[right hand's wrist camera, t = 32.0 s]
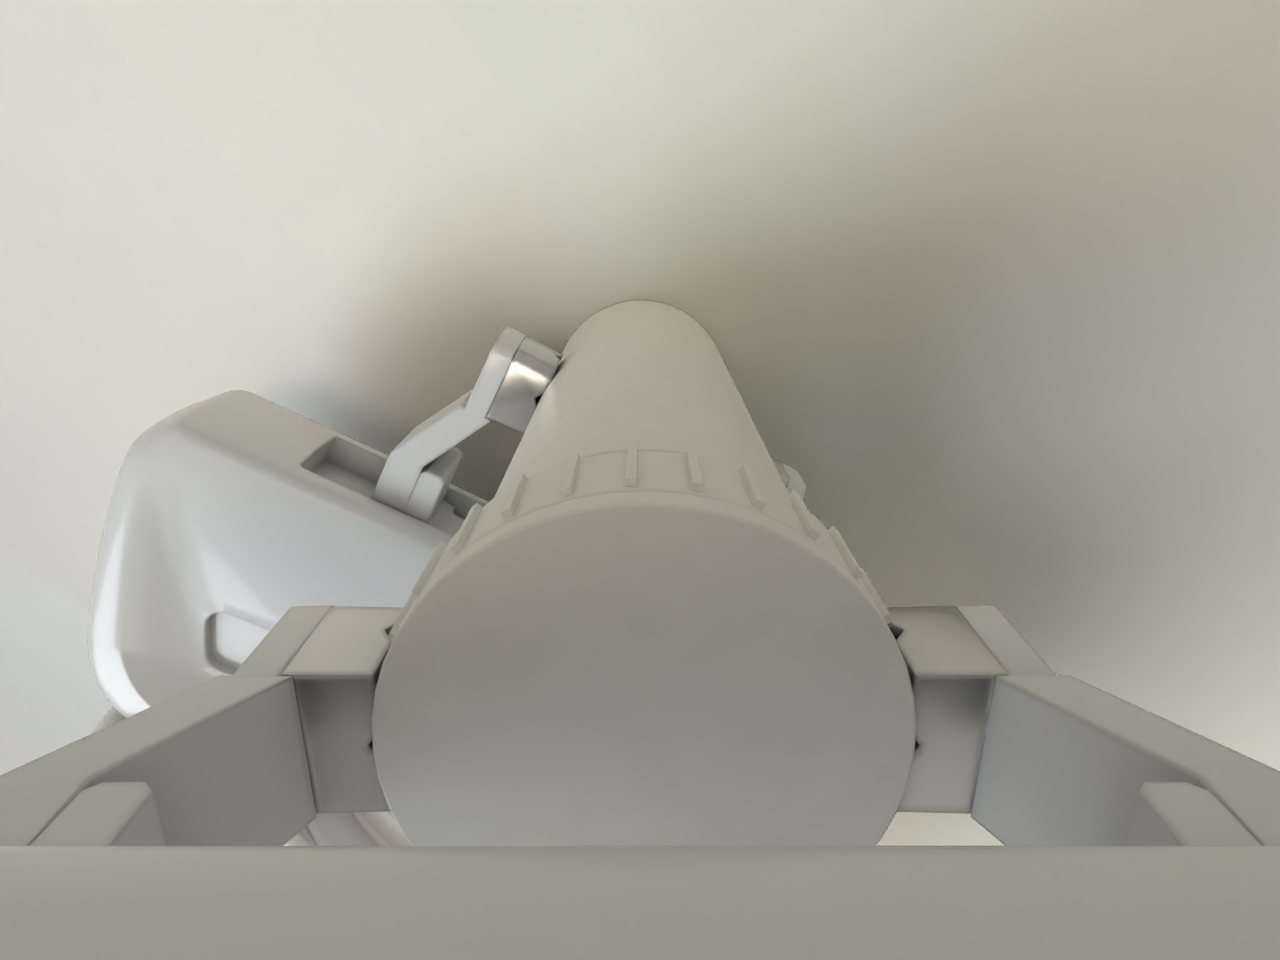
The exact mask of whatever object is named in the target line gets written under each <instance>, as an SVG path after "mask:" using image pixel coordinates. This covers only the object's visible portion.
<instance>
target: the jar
mask: <svg viewBox="0 0 1280 960" xmlns="http://www.w3.org/2000/svg"><path fill="white" fill-rule="evenodd" d="M562 354H563V356H562V358H561V360H560V363H559V365H558V367H557V369H556V371H555V373H554V375H553V378H552V380H551V382H550V384H549V386H548V387H547V389H546V390H545V391H544V393H543V394H542V397H541V399H540V401H539V403H538V405H537V407H536V409H535V412H534V414H533V416H532V418H531V420H530V422H529V424H528V426H527V429H526V431H525V433H524V435H523V437H522V439H521V441H520V443H519V446H518V448H517V450H516V452H515V454H514V456H513V458H512V460H511V463H510V465H509V467H508V469H507V471H506V473H505V475H504V478H503V480H502V482H501V484H500V486H499V488H498V490H497V492H496V495H495V497H496V496H498V495H500V494H501V493H503V492H504V491H506V490H507V489H509V488H511V487H512V485H513V483H514V480H515V478H516V476H518V475H520V474H522V473H525V475H526V476H527V478H529V477H531V476H533V475H536V474H538V473H540V472H542V471H544V470H546V469H549V468H552V467H555V466H558V465H561V464H564V463H567V462H568V458H569V455H571V454H575V453H579V456H580V458H586V457H592V456H597V455H603V454H609V453H616V452H627V446H628V445H637V451H654V452H668V453H681V454H686V449H687V448H689V449H695V450H696V453H697V457H700V458H705V459H710V460H714V461H717V462H720V463H723V464H726V465H729V466H732V467H735V468H738V469H741V467H742V465H743V464H746V465H748V466H751V467H752V470H753V472H754V475H755V476H756V477H758V478H760V479H762V480H764V481H766V482H768V483H770V484H772V485H774V486H776V487H777V488H779V489H780V490H782V491H783V492H784V493H786V494H787V495H789V493H788V491H787V489H786V487H785V485H784V483H783V481H782V479H781V477H780V475H779V473H778V471H777V468H776V466H775V464H774V462H773V460H772V458H771V456H770V454H769V452H768V450H767V448H766V446H765V444H764V442H763V440H762V438H761V436H760V434H759V432H758V430H757V428H756V426H755V424H754V422H753V420H752V418H751V416H750V414H749V412H748V410H747V408H746V406H745V404H744V402H743V400H742V398H741V395H740V393H739V391H738V389H737V387H736V385H735V383H734V381H733V379H732V377H731V375H730V373H729V371H728V369H727V367H726V365H725V363H724V361H723V359H722V357H721V355H720V353H719V351H718V349H717V347H716V345H715V343H714V342H713V340H712V338H711V337H710V335H709V334H708V333H707V332H706V330H705V329H704V328H703V327H702V326H701V325H700V324H699V323H698V322H697V321H696V320H695V319H693V318H692V317H691V316H689V315H688V314H686V313H685V312H683V311H681V310H679V309H677V308H675V307H672V306H670V305H667V304H664V303H659V302H655V301H645V300H638V301H627V302H622V303H618V304H615V305H612V306H609V307H607V308H604V309H602V310H600V311H598V312H597V313H595V314H594V315H592V316H591V317H589V318H588V319H587V320H586V321H585V322H583V323H582V324H581V325H580V326H579V327H578V328H577V330H576V331H575V332H574V333H573V334H572V336H571V337H570V339H569V340H568V342H567V344H566V346H565V348H564V350H563V352H562ZM495 497H494V498H495Z"/></svg>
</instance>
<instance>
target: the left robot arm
mask: <svg viewBox="0 0 1280 960" xmlns="http://www.w3.org/2000/svg"><path fill="white" fill-rule="evenodd" d="M562 356H563V354H561V353H559V352H557V351H556V350H554V349H552V348H550V347H548V346H546V345H544V344H542V343H540V342H538V341H536V340H534V339H532V338H531V337H529V336H526V334H524V333H521V332H519V331H517V330H515V329H513V328H510V327H508V326H507V327H506V328H505V329H504V330H503V331H502V332H501V333H500V335H499V337H498V339H497V340H496V342H495V344H494V346H493V348H492V349H491V351H490V353H489V355H488V358H487V360H486V362H485V364H484V367H483V369H482V371H481V373H480V375H479V378H478V380H477V382H476V384H475V387H474V388H473V389H471V390H470V391H468V392H467V393H465V394H464V395H462V396H461V397H459V398H458V399H456V400H455V401H453V402H452V403H450V404H449V405H447V406H446V407H444V408H443V409H441V410H440V411H438V412H437V413H435V414H434V415H432V416H431V417H429V418H428V419H426V420H425V421H423V422H422V423H420V424H419V425H417V426H416V427H414V428H413V429H412V431H411V432H410V433H409V434H408V435H407V436H406V437H405V438H404V439H403V440H402V441H401V442H400V443H399V444H398V445H397V446H396V447H395V448H394V449H393V450H392V452H391V453H390V455H389V456H388V455H386V454H384V453H382V452H380V451H378V450H375V449H373V448H371V447H369V446H367V445H365V444H362V443H360V442H358V441H356V440H354V439H351V438H349V437H347V436H345V435H343V434H341V433H338V432H336V431H334V430H332V429H330V428H328V427H325V426H323V425H321V424H319V423H317V422H314V421H312V420H310V419H308V418H306V417H304V416H301V415H299V414H297V413H295V412H293V411H291V410H288V409H286V408H284V407H282V406H280V405H278V404H275V403H273V402H271V401H269V400H267V399H265V398H263V397H260V396H258V395H256V394H253V393H251V392H247V391H243V390H233V391H229V392H226V393H223V394H220V395H217V396H214V397H212V398H209V399H206V400H203V401H200V402H198V403H195V404H193V405H191V406H188V407H186V408H183V409H181V410H179V411H177V412H175V413H174V414H172V415H170V416H168V417H166V418H165V419H163V420H161V421H159V422H157V423H156V424H154V425H153V426H152V427H150V428H149V429H147V430H146V431H145V432H144V433H143V434H142V435H141V436H140V437H139V438H138V439H137V440H136V441H135V442H134V443H133V445H132V446H131V447H130V449H129V451H128V452H127V454H126V456H125V459H124V461H123V464H122V466H121V469H120V472H119V475H118V478H117V480H116V484H115V487H114V491H113V494H112V498H111V501H110V505H109V509H108V513H107V517H106V521H105V525H104V530H103V534H102V539H101V544H100V548H99V553H98V559H97V565H96V570H95V576H94V582H93V589H92V596H91V603H90V610H89V619H88V638H87V641H88V654H89V660H90V665H91V669H92V672H93V675H94V677H95V680H96V682H97V684H98V686H99V688H100V690H101V691H102V693H103V694H104V696H105V697H106V699H107V700H108V701H109V703H110V704H111V705H112V707H111V708H110V710H109V711H108V712H107V713H106V714H105V716H104V717H103V718H102V720H101V721H100V722H99V724H98V725H97V726H96V728H95V729H94V730H93V732H92V733H91V734H93V733H95V732H97V731H99V730H102V729H104V728H106V727H108V726H110V725H112V724H115V723H117V722H119V721H121V720H123V719H126V718H128V717H130V716H132V715H134V714H136V713H139V712H141V711H143V710H145V709H147V708H150V707H152V706H154V705H156V704H158V703H160V702H163V701H165V700H167V699H169V698H171V697H174V696H176V695H178V694H180V693H182V692H184V691H187V690H189V689H191V688H193V687H195V686H198V685H200V684H202V683H204V682H206V681H208V680H211V679H213V678H215V677H217V676H232V675H233V674H234V673H235V672H236V670H237V669H238V668H239V667H240V666H241V665H242V663H243V662H244V661H245V660H246V659H247V658H248V656H249V655H250V654H251V653H252V652H253V650H254V649H255V648H256V647H257V646H258V645H259V643H260V642H261V641H262V640H263V639H264V638H265V636H266V635H267V634H268V633H269V632H270V630H271V629H272V628H273V627H274V626H275V625H276V623H277V622H278V621H279V620H280V619H281V618H282V616H283V615H284V614H285V613H286V612H287V611H288V609H289V608H290V607H297V606H323V605H333V606H335V607H337V606H358V607H404V606H405V605H406V603H407V601H408V599H409V597H410V596H411V594H412V592H411V591H412V589H413V588H414V586H415V584H416V582H417V581H418V579H419V577H420V575H421V573H422V572H423V570H424V568H425V566H426V565H427V563H428V561H429V559H430V558H431V556H432V554H433V552H434V551H435V549H436V547H437V546H438V544H439V543H440V542H441V541H442V542H443V543H445V544H448V543H449V541H450V540H451V539H452V538H453V536H454V535H455V534H456V533H457V532H458V531H459V530H460V528H461V526H462V524H463V522H464V520H465V518H466V517H467V515H468V513H469V511H470V509H471V508H472V507H473V506H474V505H475V504H476V503H478V504H479V505H480V506H481V507H482V508H483V507H484V506H485V505H486V504H487V503H488V502H489V501H486V500H484V499H482V498H480V497H478V496H476V495H473V494H471V493H469V492H467V491H465V490H462V489H460V488H458V487H456V486H454V485H452V484H451V482H452V480H453V477H454V475H455V473H456V470H457V468H458V466H459V464H460V461H461V459H462V457H463V454H462V451H461V450H460V449H458V448H456V447H454V446H455V445H457V444H458V443H460V442H461V441H463V440H464V439H466V438H467V437H469V436H470V435H471V434H473V433H474V432H476V431H477V430H479V429H480V428H482V427H483V426H485V425H486V424H488V423H489V422H491V420H493V421H495V422H497V423H500V424H502V425H504V426H506V427H508V428H511V429H513V430H515V431H517V432H520V433H522V434H524V433H525V431H526V429H527V426H528V424H529V422H530V420H531V418H532V416H533V414H534V412H535V409H536V407H537V405H538V403H539V401H540V399H541V397H542V394H543V393H544V391H545V390H546V389H547V387H548V386H549V384H550V382H551V380H552V378H553V375H554V373H555V371H556V369H557V367H558V365H559V363H560V360H561V358H562ZM772 460H773V462H774V464H775V466H776V468H777V471H778V473H779V475H780V477H781V479H782V481H783V483H784V485H785V487H786V489H787V491H788V493H789V494H790V493H791V492H792V490H794V491H796V492H797V493H798V494H800V496H801V498H802V500H803V499H804V496H805V492H806V484H805V482H804V480H803V478H802V477H801V475H800V473H799V471H798V470H796V469H794V468H792V467H790V466H788V465H786V464H783V463H781V462H780V461H778V460H776V459H774V458H772ZM91 734H90V735H91ZM316 815H317V818H315V819H314V820H313V821H312V822H311V823H310V824H308V825H307V826H306V827H305V828H304V829H302V830H301V831H300V832H299V833H298V834H297V835H295V836H294V837H293V838H292V839H291V840H290V841H288V842H287V843H286V844H285V845H284V846H412V845H411V844H410V842H409V841H408V840H407V838H406V837H405V836H404V834H403V833H402V831H401V829H400V827H399V825H398V823H397V822H396V820H395V818H394V816H393V814H392V812H391V811H389V812H354V813H318V814H316Z"/></svg>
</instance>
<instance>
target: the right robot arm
mask: <svg viewBox="0 0 1280 960" xmlns="http://www.w3.org/2000/svg"><path fill="white" fill-rule="evenodd" d="M403 608H404V607H358V606H337V607H335V606H333V605H323V606H297V607H290V608H289V609H288V611H287V612H286V613H285V614H284V615H283V616H282V618H281V619H280V620H279V621H278V622H277V623H276V625H275V626H274V627H273V628H272V629H271V630H270V632H269V633H268V634H267V635H266V636H265V638H264V639H263V640H262V641H261V642H260V643H259V645H258V646H257V647H256V648H255V649H254V650H253V652H252V653H251V654H250V655H249V656H248V658H247V659H246V660H245V661H244V662H243V663H242V665H241V666H240V667H239V668H238V669H237V670H236V672H235V673H234V674H233V675H232V676H217V677H215V678H213V679H211V680H208V681H206V682H204V683H202V684H200V685H198V686H195V687H193V688H191V689H189V690H187V691H184V692H182V693H180V694H178V695H176V696H174V697H171V698H169V699H167V700H165V701H163V702H160V703H158V704H156V705H154V706H152V707H150V708H147V709H145V710H143V711H141V712H139V713H136V714H134V715H132V716H130V717H128V718H126V719H123V720H121V721H119V722H117V723H115V724H112V725H110V726H108V727H106V728H104V729H102V730H99V731H97V732H95V733H93V734H91V735H88V736H86V737H84V738H82V739H80V740H78V741H75V742H73V743H71V744H69V745H67V746H64V747H62V748H60V749H58V750H56V751H54V752H51V753H49V754H47V755H45V756H43V757H40V758H38V759H36V760H34V761H32V762H30V763H27V764H25V765H23V766H21V767H19V768H16V769H14V770H12V771H10V772H8V773H6V774H3V775H1V776H0V960H1280V771H1278V770H1276V769H1273V768H1271V767H1269V766H1267V765H1265V764H1262V763H1260V762H1258V761H1256V760H1254V759H1251V758H1249V757H1247V756H1245V755H1243V754H1240V753H1238V752H1236V751H1234V750H1232V749H1230V748H1227V747H1225V746H1223V745H1221V744H1219V743H1216V742H1214V741H1212V740H1210V739H1208V738H1205V737H1203V736H1201V735H1199V734H1197V733H1194V732H1192V731H1190V730H1188V729H1186V728H1183V727H1181V726H1179V725H1177V724H1175V723H1172V722H1170V721H1168V720H1166V719H1164V718H1161V717H1159V716H1157V715H1155V714H1153V713H1150V712H1148V711H1146V710H1144V709H1142V708H1140V707H1137V706H1135V705H1133V704H1131V703H1129V702H1126V701H1124V700H1122V699H1120V698H1118V697H1115V696H1113V695H1111V694H1109V693H1107V692H1104V691H1102V690H1100V689H1098V688H1096V687H1093V686H1091V685H1089V684H1087V683H1085V682H1082V681H1080V680H1078V679H1076V678H1074V677H1071V676H1056V675H1055V673H1054V672H1053V671H1052V670H1051V669H1050V668H1049V666H1048V665H1047V664H1046V663H1045V662H1044V661H1043V660H1042V658H1041V657H1040V656H1039V655H1038V654H1037V653H1036V652H1035V650H1034V649H1033V648H1032V647H1031V646H1030V645H1029V643H1028V642H1027V641H1026V640H1025V639H1024V638H1023V637H1022V635H1021V634H1020V633H1019V632H1018V631H1017V630H1016V629H1015V627H1014V626H1013V625H1012V624H1011V623H1010V622H1009V620H1008V619H1007V618H1006V617H1005V616H1004V615H1003V614H1002V612H1001V611H1000V610H999V609H998V608H996V607H993V606H990V605H980V606H957V607H955V606H933V607H891V608H887V610H888V611H889V613H890V615H891V617H892V619H893V622H891V623H889V624H887V625H888V627H889V629H890V630H891V632H892V634H893V636H894V637H895V640H896V642H897V645H898V647H899V649H900V652H901V654H902V656H903V659H904V661H905V663H906V666H907V669H908V673H909V678H910V682H911V686H912V690H913V694H914V701H915V714H916V739H915V751H914V759H913V763H912V767H911V772H910V776H909V780H908V784H907V787H906V790H905V792H904V795H903V797H902V800H901V802H900V805H899V807H898V809H897V812H933V813H969V814H971V817H972V818H973V819H974V820H975V821H977V822H978V823H979V824H980V825H981V826H983V827H984V828H985V829H986V830H987V831H988V832H990V833H991V834H992V835H993V836H994V837H996V838H997V839H998V840H999V841H1000V842H1002V843H1003V844H1004V845H1005V846H284V845H285V844H286V843H287V842H288V841H290V840H291V839H292V838H293V837H294V836H295V835H297V834H298V833H299V832H300V831H301V830H302V829H304V828H305V827H306V826H307V825H308V824H310V823H311V822H312V821H313V820H314V819H315V818H317V815H316V814H318V813H354V812H389V811H390V809H389V806H388V804H387V801H386V798H385V796H384V793H383V790H382V787H381V785H380V782H379V778H378V773H377V768H376V763H375V758H374V754H373V741H372V713H373V704H374V695H375V689H376V686H377V682H378V678H379V675H380V671H381V668H382V664H383V661H384V659H385V657H386V654H387V652H388V650H389V648H390V646H391V644H392V643H391V642H388V641H387V638H388V635H389V633H390V631H391V629H392V628H393V626H394V624H395V622H396V620H397V619H398V617H399V615H400V613H401V612H402V610H403Z"/></svg>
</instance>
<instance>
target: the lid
mask: <svg viewBox="0 0 1280 960" xmlns="http://www.w3.org/2000/svg"><path fill="white" fill-rule="evenodd" d="M411 592H412V594H411V596H410V597H409V599H408V601H407V603H406V605H405V606H404V608H403V610H402V612H401V613H400V615H399V617H398V619H397V620H396V622H395V624H394V626H393V628H392V629H391V631H390V633H389V635H388V638H387V641H388V642H391V643H392V644H391V646H390V648H389V650H388V652H387V654H386V657H385V659H384V661H383V664H382V668H381V671H380V675H379V678H378V682H377V686H376V689H375V695H374V704H373V713H372V741H373V754H374V758H375V763H376V768H377V773H378V778H379V782H380V785H381V787H382V790H383V793H384V796H385V798H386V801H387V804H388V806H389V809H390V811H391V812H392V814H393V816H394V818H395V820H396V822H397V823H398V825H399V827H400V829H401V831H402V833H403V834H404V836H405V837H406V838H407V840H408V841H409V842H410V844H411V845H412V846H876V844H877V843H878V842H879V841H880V839H881V838H882V836H883V835H884V833H885V831H886V829H887V828H888V826H889V824H890V823H891V821H892V819H893V817H894V816H895V814H896V812H897V809H898V807H899V805H900V802H901V800H902V797H903V795H904V792H905V790H906V787H907V784H908V780H909V776H910V772H911V767H912V763H913V759H914V751H915V739H916V714H915V701H914V694H913V690H912V686H911V682H910V678H909V673H908V669H907V666H906V663H905V661H904V659H903V656H902V654H901V652H900V649H899V647H898V645H897V642H896V640H895V637H894V636H893V634H892V632H891V630H890V629H889V627H888V625H887V624H889V623H891V622H893V619H892V617H891V615H890V613H889V611H888V610H887V608H886V606H885V604H884V603H883V601H882V599H881V598H880V596H879V594H878V593H877V591H876V589H875V588H874V586H873V584H872V583H871V581H870V579H869V577H868V576H867V574H866V572H865V571H864V569H863V568H860V567H859V565H858V563H857V562H856V560H855V558H854V557H853V555H852V553H851V551H850V550H849V548H848V546H847V545H846V543H845V541H844V540H843V538H842V536H841V534H840V533H839V531H838V530H837V529H836V527H835V526H832V527H830V528H829V529H827V528H826V527H825V526H824V525H823V523H822V522H821V521H819V520H818V519H817V518H816V517H815V516H814V515H813V514H812V513H810V512H809V511H808V509H807V507H806V505H805V504H804V502H803V500H802V498H801V496H800V494H798V493H797V492H796V491H794V490H792V492H791V493H790V494H789V495H787V494H786V493H784V492H783V491H782V490H780V489H779V488H777V487H776V486H774V485H772V484H770V483H768V482H766V481H764V480H762V479H760V478H758V477H756V476H755V475H754V472H753V470H752V467H751V466H748V465H746V464H743V465H742V467H741V469H738V468H735V467H732V466H729V465H726V464H723V463H720V462H717V461H714V460H710V459H705V458H700V457H697V453H696V450H695V449H689V448H687V449H686V454H681V453H668V452H654V451H637V445H628V446H627V452H616V453H609V454H603V455H597V456H592V457H586V458H580V456H579V453H575V454H571V455H569V458H568V462H567V463H564V464H561V465H558V466H555V467H552V468H549V469H546V470H544V471H542V472H540V473H538V474H536V475H533V476H531V477H529V478H527V476H526V475H525V473H522V474H520V475H518V476H516V478H515V480H514V483H513V485H512V487H511V488H509V489H507V490H506V491H504V492H503V493H501V494H500V495H498V496H496V497H495V498H493V499H492V500H491V501H490V502H488V503H487V504H486V505H485V506H484V507H483V508H482V507H481V506H480V505H479V504H478V503H476V504H475V505H474V506H473V507H472V508H471V509H470V511H469V513H468V515H467V517H466V518H465V520H464V522H463V524H462V526H461V528H460V530H459V531H458V532H457V533H456V534H455V535H454V536H453V538H452V539H451V540H450V541H449V543H448V544H445V543H443V542H442V541H441V542H440V543H439V544H438V546H437V547H436V549H435V551H434V552H433V554H432V556H431V558H430V559H429V561H428V563H427V565H426V566H425V568H424V570H423V572H422V573H421V575H420V577H419V579H418V581H417V582H416V584H415V586H414V588H413V589H412V591H411Z"/></svg>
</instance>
